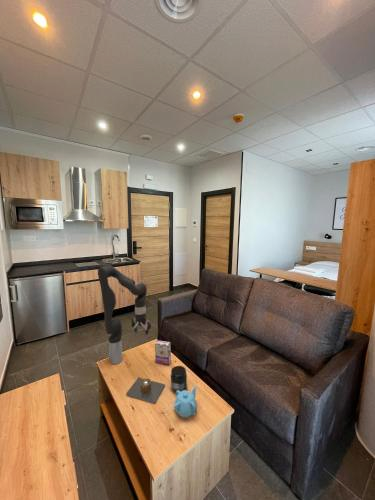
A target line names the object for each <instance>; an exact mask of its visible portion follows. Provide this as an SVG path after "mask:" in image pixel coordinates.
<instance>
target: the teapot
mask: <svg viewBox="0 0 375 500" xmlns="http://www.w3.org/2000/svg"><path fill="white" fill-rule="evenodd" d="M197 386H198V385H197V384H196V385H194V386H193V389H192V392H190V391H188V390H187V389H186V390H183V391H181V392H180V391H179V390H178V391H176V392H175V395H176V396H175V400H174V405H173V409H174V411H176V413H177V414H178V415H179V416H180V417H182V418H183V419H184V420H187V418H190V417H191V416H196V412H195V411H196V410H197V407H198V406H197V400H196V392H197V391H196V390H197Z"/></svg>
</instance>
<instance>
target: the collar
mask: <svg viewBox="0 0 375 500" xmlns="http://www.w3.org/2000/svg"><path fill="white" fill-rule="evenodd" d="M144 380H148V384H147V385H143V381H144ZM151 381H152V380H151V378H143V380H142V381H141V391H142V392H143V393H147V392H149V391H150V390H151Z"/></svg>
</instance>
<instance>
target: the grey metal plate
mask: <svg viewBox="0 0 375 500" xmlns="http://www.w3.org/2000/svg"><path fill="white" fill-rule="evenodd" d="M143 379H144V378H141V377H137V379H136V380H135V381H134V382H133V384H132V385H131V386H130V388H129V389H128V390H127V391H126V393H125V395H126V397H130V398H134V399H136V400H140V401H145V402H147V403H151V404H154V405H156V403H157V401H158V400H159V398H160V396H161V394H162V393H163V391H164V389H165V387H166V384H165V383H162V382H157V381H153V380H151V390H150V391H149V392H147V393H143V392H142V391H141V381H142V380H143ZM147 384H148V380H144V381H143V385H147Z"/></svg>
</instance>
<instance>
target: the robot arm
mask: <svg viewBox="0 0 375 500" xmlns="http://www.w3.org/2000/svg"><path fill="white" fill-rule="evenodd" d="M97 276H98V277H97V278H98V281H99V285H100V291H101V298H102V299H101V300H102V306H103V307H102V308H103V312H104V329H105V333H106V334H107V335H109V336H108V348H109V349H108V362H109V363H110V364H112V365H118V364H120V363H122V361H123V358H124V357H123V343H122V336H123V331H122V330H123V329H122V328H123V327H122V326H123V325H122V321H121V320H120V318H113V319H112V317H113V316H112V315H113V312H114V310H115V307H116V305H117V298H116V293H115V292H114V290H113V289H112V288H111V287H110V285H109V280H108V279H109V278H114V279H116V280H117V281H118V283H119V285H121V286H122V287H123V288H126V289H127V290H128V291H129V292H130V294H132V295H133V296H136V297H135V298H134V316H135V317H133V318H132V319H131V327H133V330H134V333H136V334H137V333H138V330H139V329H138V326H139V327H143V328H144V329H145V336H147V335H148V334H149V330H150V329H151V328H152V325H151V319H150V320H147V308H146V298H147V290H148V289H147V285H146V284H145V283H143V282H141V283H138V284H136V282H135V280H134V279H132V278H130V277H129V276H126V275H125V274H123V273H121V272H120V271H119V270H118V269H117V268H115V267H114V266H113V265H110V264H107V265H103V266H100V267H99V268H98V269H97Z"/></svg>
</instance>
